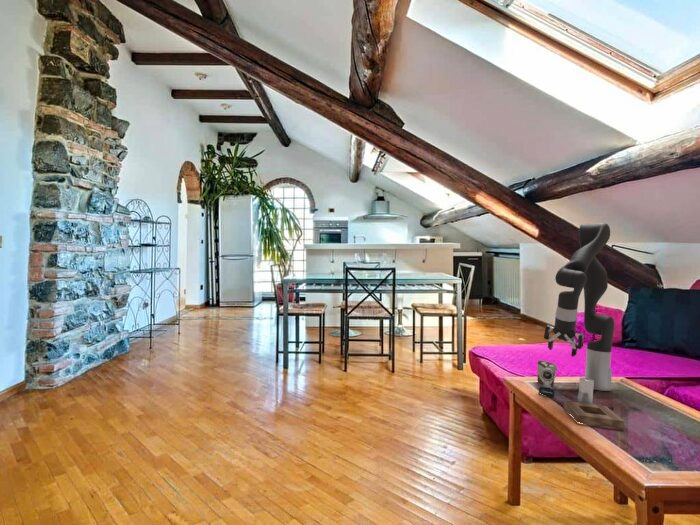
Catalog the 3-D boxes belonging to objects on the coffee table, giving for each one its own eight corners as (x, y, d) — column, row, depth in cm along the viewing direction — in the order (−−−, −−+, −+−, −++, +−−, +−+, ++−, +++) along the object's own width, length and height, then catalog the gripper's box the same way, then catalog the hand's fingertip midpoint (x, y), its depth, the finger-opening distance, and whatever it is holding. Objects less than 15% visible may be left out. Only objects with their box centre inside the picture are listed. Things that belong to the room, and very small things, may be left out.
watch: (538, 395, 155) (540, 369, 155) (539, 390, 162) (541, 365, 162) (553, 398, 152) (555, 371, 152) (554, 393, 159) (556, 367, 159)
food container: (560, 391, 162) (562, 368, 162) (545, 389, 163) (547, 367, 163) (550, 382, 174) (551, 361, 174) (536, 381, 175) (537, 359, 175)
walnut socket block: (605, 415, 139) (605, 405, 139) (623, 431, 125) (624, 421, 125) (563, 409, 142) (564, 400, 142) (577, 425, 128) (577, 414, 128)
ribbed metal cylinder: (589, 403, 149) (590, 378, 149) (594, 407, 144) (595, 382, 144) (575, 401, 150) (577, 376, 150) (580, 406, 146) (582, 380, 146)
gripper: (588, 318, 150) (583, 354, 155) (550, 309, 160) (546, 343, 165) (582, 324, 145) (577, 362, 150) (544, 315, 155) (540, 350, 160)
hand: (561, 352), depth 157 cm, fingers open, 8 cm apart
